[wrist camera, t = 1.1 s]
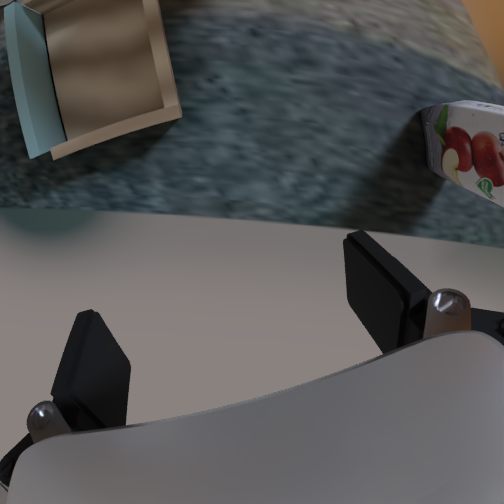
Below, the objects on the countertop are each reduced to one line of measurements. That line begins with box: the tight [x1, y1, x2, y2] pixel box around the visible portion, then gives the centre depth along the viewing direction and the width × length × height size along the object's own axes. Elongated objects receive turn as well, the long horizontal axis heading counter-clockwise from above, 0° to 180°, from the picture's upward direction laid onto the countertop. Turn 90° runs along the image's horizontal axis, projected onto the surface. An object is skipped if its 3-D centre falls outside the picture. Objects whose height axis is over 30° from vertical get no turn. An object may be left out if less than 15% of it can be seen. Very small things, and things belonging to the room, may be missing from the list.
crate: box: [24, 0, 183, 160], centre depth 23 cm, size 18×12×6 cm
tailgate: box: [4, 2, 66, 159], centre depth 21 cm, size 16×1×7 cm, turn 11°
